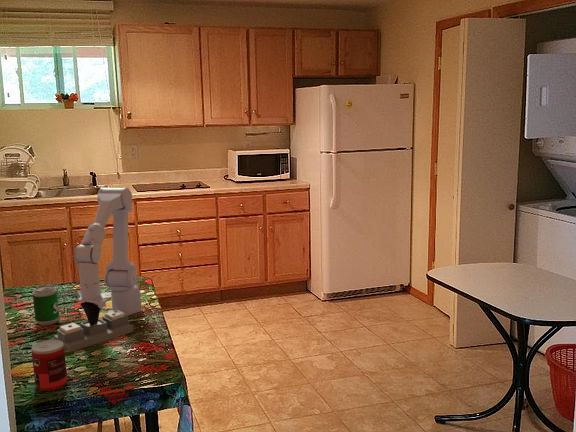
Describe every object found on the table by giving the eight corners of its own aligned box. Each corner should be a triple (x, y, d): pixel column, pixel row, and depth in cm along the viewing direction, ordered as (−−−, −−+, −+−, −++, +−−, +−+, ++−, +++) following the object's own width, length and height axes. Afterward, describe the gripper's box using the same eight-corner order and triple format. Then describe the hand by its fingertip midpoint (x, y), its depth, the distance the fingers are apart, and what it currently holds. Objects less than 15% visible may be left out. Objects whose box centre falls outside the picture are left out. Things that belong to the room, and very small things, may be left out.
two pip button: (118, 314, 193) (117, 309, 193) (125, 318, 190) (124, 312, 190) (105, 318, 190) (105, 312, 190) (112, 322, 187) (112, 316, 187)
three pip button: (97, 325, 188) (96, 319, 188) (103, 329, 185) (103, 323, 185) (84, 329, 185) (83, 323, 185) (90, 333, 182) (90, 327, 182)
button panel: (116, 322, 197) (115, 309, 196) (133, 331, 189) (132, 317, 188) (54, 341, 182) (52, 327, 181) (70, 352, 175) (69, 337, 174)
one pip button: (74, 328, 183) (73, 322, 182) (80, 331, 180) (80, 325, 179) (60, 332, 180) (59, 326, 179) (66, 336, 177) (66, 329, 176)
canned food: (40, 378, 159) (36, 340, 156) (71, 376, 159) (67, 338, 157) (31, 392, 151) (26, 352, 149) (63, 390, 152) (59, 350, 150)
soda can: (51, 327, 194) (47, 292, 191) (30, 325, 195) (27, 291, 193) (64, 318, 201) (60, 285, 199) (44, 317, 202) (40, 284, 200)
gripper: (66, 280, 184) (70, 321, 187) (88, 290, 174) (92, 333, 177) (88, 275, 189) (91, 315, 192) (110, 285, 179) (114, 327, 182)
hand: (93, 323), depth 185 cm, fingers closed, pressing on three pip button
